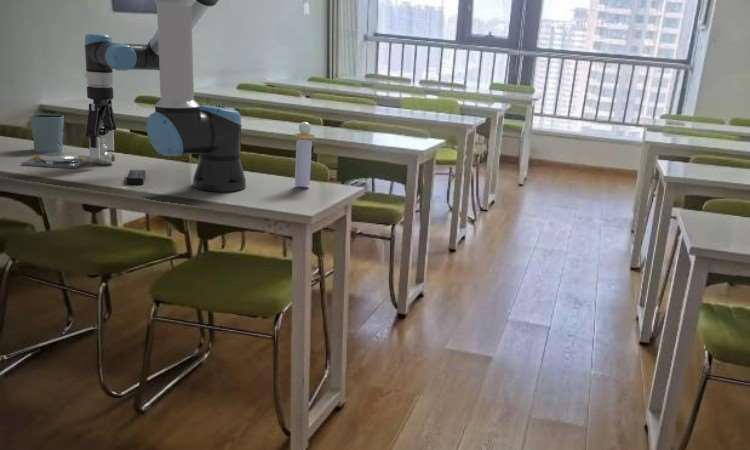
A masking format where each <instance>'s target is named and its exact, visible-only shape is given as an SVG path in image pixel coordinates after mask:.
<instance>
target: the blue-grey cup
mask: <svg viewBox="0 0 750 450" xmlns="http://www.w3.org/2000/svg"><path fill="white" fill-rule="evenodd" d="M29 118H30V124H31V125H30V126H31V127H30V128H31V129H32V131H31V133H32V139H33V149H34V152H36V153H41V154H43V153H56V152H62V151H63V140H64V132H63V130H64V124H65V123H64V122H65V120H64V119H65V115H62V114H58V113H46V112H44V113H43V112H42V113H39V112H38V113H32V114H30V115H29Z"/></svg>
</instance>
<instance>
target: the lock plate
mask: <svg viewBox="0 0 750 450" xmlns="http://www.w3.org/2000/svg"><path fill="white" fill-rule="evenodd" d="M90 162H91V160H90V155H78V154H76V153H72V152H71V151H64V152H62V151H61V152H56V153H41V154H37V153H35V154H33V155H32V158H29V159H28V160H25V161H22V162H21V166H23V167H24V166H27V167H40V168H41V167H43V168H56V169H57V168H58V169H59V168H60V169H71V170H73V169H75V170H77V169H78V168H80V167H82V166H85V165H86V164H88V163H90Z"/></svg>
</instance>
